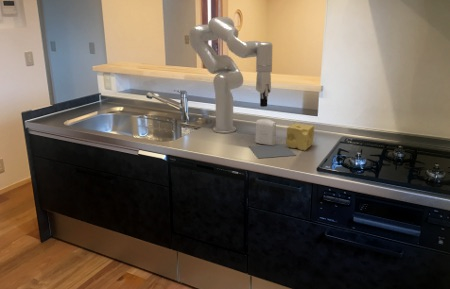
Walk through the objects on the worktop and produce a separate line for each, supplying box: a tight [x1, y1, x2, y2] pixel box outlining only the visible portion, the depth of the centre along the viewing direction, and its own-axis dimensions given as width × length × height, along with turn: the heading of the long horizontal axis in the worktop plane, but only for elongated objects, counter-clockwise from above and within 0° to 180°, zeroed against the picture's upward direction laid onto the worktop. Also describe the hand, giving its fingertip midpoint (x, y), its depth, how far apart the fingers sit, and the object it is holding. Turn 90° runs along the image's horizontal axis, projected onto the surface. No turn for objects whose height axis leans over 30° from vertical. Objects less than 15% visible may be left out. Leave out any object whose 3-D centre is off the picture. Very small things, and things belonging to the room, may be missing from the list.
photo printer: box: [254, 118, 277, 146], centre depth 197 cm, size 10×4×12 cm, turn 56°
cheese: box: [285, 122, 315, 151], centre depth 194 cm, size 10×11×10 cm
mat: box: [248, 143, 297, 160], centre depth 189 cm, size 16×18×1 cm
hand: (263, 106), depth 198 cm, fingers closed
